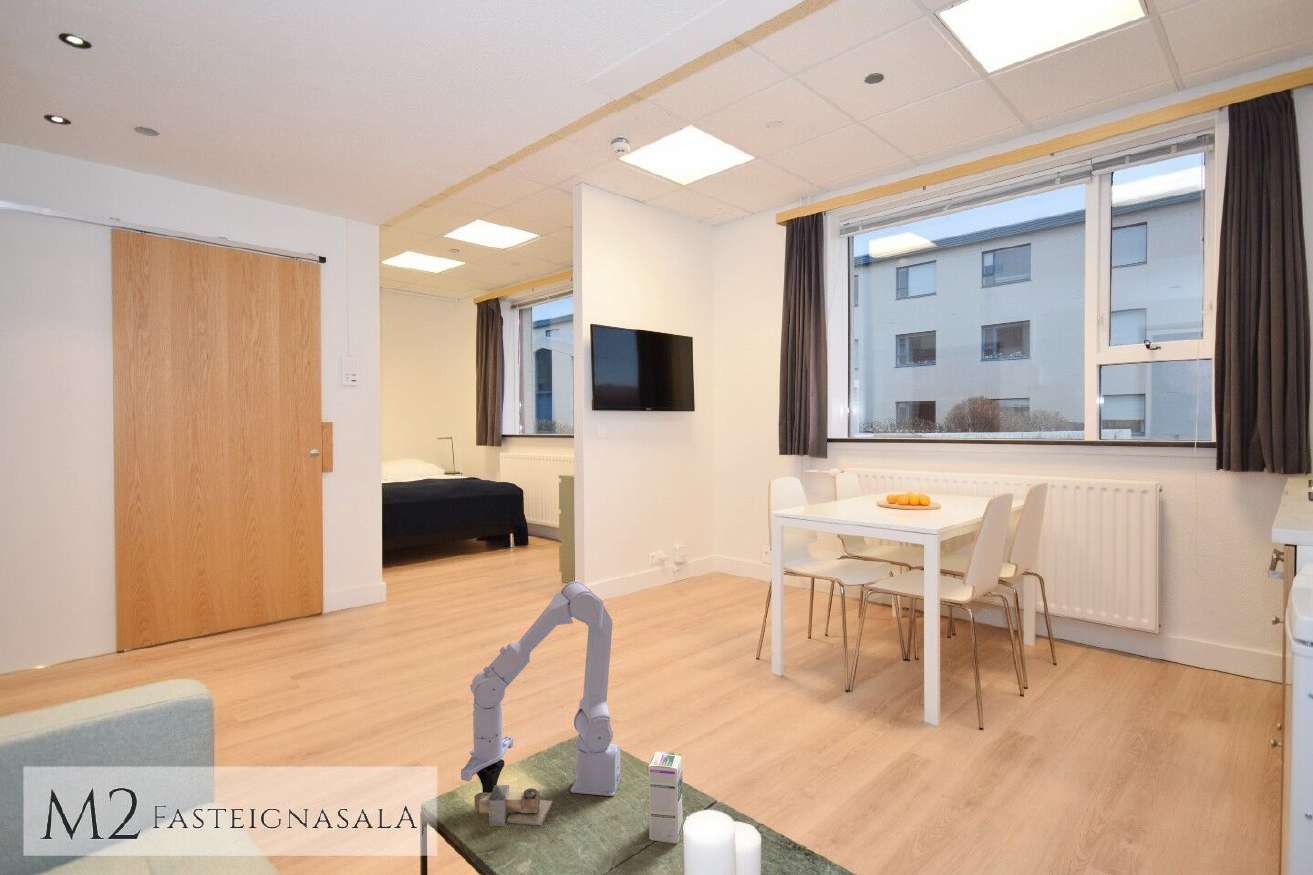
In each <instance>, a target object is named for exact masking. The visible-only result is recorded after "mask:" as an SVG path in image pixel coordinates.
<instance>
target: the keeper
mask: <svg viewBox="0 0 1313 875" xmlns="http://www.w3.org/2000/svg"><path fill="white" fill-rule="evenodd" d="M509 792H510V784H500V785H499V784H497V785H494V788H493V791H492V794H491V797H490V800H489V812H488V813H489V815H488V819H489V820H488V822H489V823H488V824H489V825H488V826H489V827H505V826H506V823H507V812H506V800H507V796H508V793H509Z"/></svg>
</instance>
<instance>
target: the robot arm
mask: <svg viewBox="0 0 1313 875" xmlns="http://www.w3.org/2000/svg"><path fill="white" fill-rule="evenodd" d="M572 618H574V619H576V620H577V621H578V622H581V623H584V624H585V625H586V626H587V628H588V629H587V631H588V632H587V643H586V653H585V656H586V657H585V668H584V680H583V681H584V682H583V696H582V698H581V699H580V700H579V704H578V710H577V712H576V713H575V715H574V719H573V726H574V728H575V730H576V731H577V733H578V737H577V739H576V744H575V745H576V748H575V749H576V752H575V754H576V758H575V759H576V762H575V763H576V778H575V781H574V783H573V785H572V787H571V788H570V792H571V793H573V794H584V795H593V796H594V795H596V796H604V797H605V796H606V797H613V796H615V794H616V792H617V789H618V787H619V784H620V781H621V778H622V774H621V746H620V745H618V744H615V743H614V744H613V743H612V741H613V737H614V736H613V735H614V733H613V732H614V731H613V728H612V726H611V722H610V720H611V716H610V714H611V713H610V711H609V707H608V703H607V702H608V688H609V687H608V686H609V677H610V676H609V674H610V664H611V662H610V660H611V648H612V647H611V646H612V635H613V619H612V617H611V615H610V613H609V612H608V610H607V608H606V606H605V604H604V600H602V598H600V597H599V596H598V595H597V594H595V593H594V592H593V591H592V590H591V589H590V588H588V587H587V586H586V585H585V584H583V582H580V581H571V582H568V583H566V584H565V585H564V586H563V588H562V589H561V590H560V591H559V592H557V593H556V594H555V595H554V596H553V598H552V599H551V601H550V602H549V603H548V605H547V606H546V608H545V609H544V610H543V611H542V612H541V614H540V615H539V616H538V618H537V619H536V620H535V621H534V622H533V624H531V626H530V627H529V628H528V629H527V631H526V632H525V633H524V634H523V636H522V637H521V639H520V640H519V641H514V642H509V643H508V644H507V646H505V645H502V647H500V649H499V652H500V653H499V654H498V655H497V656H496V657H495V659H494V660H492V662H491V663H490V664H489V665H486V666H485V667H484V668H483V671H479V673H477V674H476V675H475V676H474V678H473V679H472V681H471V682H472V683H471V684H470V685H469V686H470V691H471V693H472V694H473V704H472V705H473V712H472V719H473V720H472V721H473V722H472V725H473V726H472V727H473V728H472V729H473V748H472V750H470V752H469V755H470V756H471V757H470V758H469V760H468V761H467V763H466V765H464V767H463V768H462V769H461V770H460V780H461V781H466V782H471V781H472V779H473V777H474V776H475V775H476V776H478V779H479V781H480V784H481V788H482V789H481V790H482V793H492V791H493V788H494V785H498V781H499V778H500V775H501V773H502V770H503V769H504V767H505V760H504V759H503V757H504V755H505V754H506V752H507V750H508V749H512V748H513V747H514V737H511V736H507V735H506V736H503V709H502V701H503V700H504V698H505V692H506V689H507V687H509V686H510V684H511V683H512V682H513V681H514V680H515V679H516V678H517V677H518V676H519V675H520V673H521V672H522V671H523V670H524V669H525V668H526V667H527V665H528V664H529V663H530V660H531V658H530V657H531V653H532V651H533V650H534V649H535V648H537V647H538V646H539V644H540V643H541V642H543V641H544V640H545V639H546V637H548V636H549V635H550V633H551V632H552V631H553V630H555V628H556V627H558V626H560V625H562V626H563V625H570V624H574V621H573V619H572Z"/></svg>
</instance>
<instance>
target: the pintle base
mask: <svg viewBox="0 0 1313 875" xmlns="http://www.w3.org/2000/svg"><path fill="white" fill-rule="evenodd" d="M537 791H538V790H537V789H536V788H533V787H532V788H527V789H525V790H524V791H523V792H524V796H525V797H527V799H534V796H536V795H537ZM552 806H553V800H544V799H540V804H539V807H538V811H537V813H521V812H509V813H510V814H509V815H508V816H507V817H506V823H510V824H512V823H513V824H519V825H531V826H539V827H541V826H542V825H543V824H544V822H545V820H546V818H547V816H548V814H549V813H550V810H551V808H552Z"/></svg>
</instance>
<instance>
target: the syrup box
mask: <svg viewBox="0 0 1313 875" xmlns="http://www.w3.org/2000/svg"><path fill="white" fill-rule="evenodd" d="M647 771H648V774H647V775H648V780H647V782H648V834H649V835H648V838H649V840H651V841H656V842H662V843H669V844H679V841H680V837H681V834H682V831H683V829H684V828H683V827H684V800H683V799H684V796H683V795H684V794H683V793H684V791H683V788H684V787H683V786H684V785H683V784H684V782H683V755H682V754H681V753H676V752H671V751H670V752H669V751H654V753H653V756H652V758H651V759H650V762H649V764H648V767H647Z"/></svg>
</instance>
